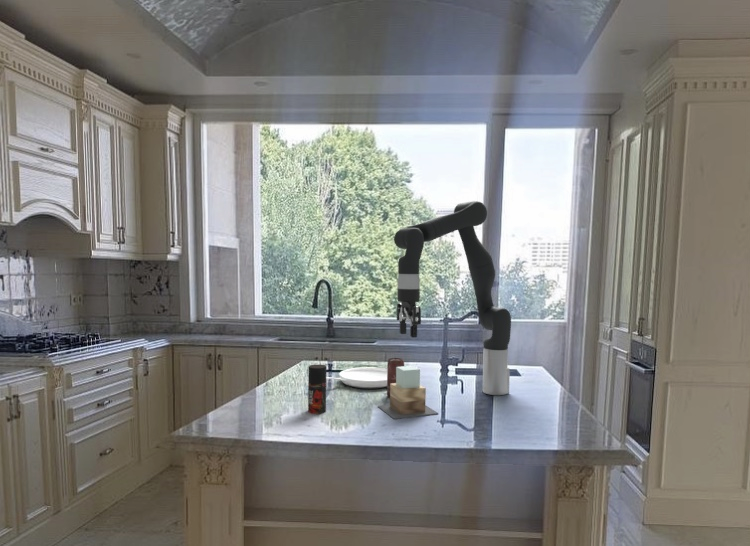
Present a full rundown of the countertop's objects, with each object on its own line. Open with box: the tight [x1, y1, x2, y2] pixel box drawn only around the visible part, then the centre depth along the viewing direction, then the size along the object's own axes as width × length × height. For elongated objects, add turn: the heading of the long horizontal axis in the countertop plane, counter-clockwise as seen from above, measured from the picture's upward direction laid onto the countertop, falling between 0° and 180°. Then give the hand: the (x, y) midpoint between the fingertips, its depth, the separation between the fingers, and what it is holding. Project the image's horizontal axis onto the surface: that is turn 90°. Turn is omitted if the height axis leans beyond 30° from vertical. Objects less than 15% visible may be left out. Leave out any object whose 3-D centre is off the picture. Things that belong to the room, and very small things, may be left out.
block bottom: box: [389, 395, 427, 415], centre depth 161 cm, size 9×9×4 cm
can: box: [386, 357, 405, 399], centre depth 178 cm, size 6×6×14 cm
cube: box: [396, 365, 421, 389], centre depth 161 cm, size 6×6×6 cm
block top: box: [390, 383, 427, 402], centre depth 161 cm, size 9×9×4 cm
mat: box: [377, 404, 439, 420], centre depth 161 cm, size 16×14×1 cm
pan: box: [326, 366, 387, 390], centre depth 195 cm, size 25×38×5 cm, turn 124°
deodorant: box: [307, 364, 327, 415], centre depth 159 cm, size 6×6×15 cm
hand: (408, 335), depth 160 cm, fingers open, 8 cm apart
